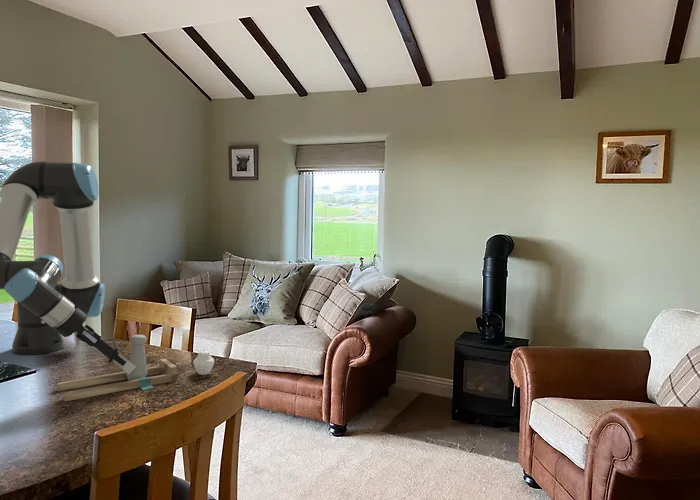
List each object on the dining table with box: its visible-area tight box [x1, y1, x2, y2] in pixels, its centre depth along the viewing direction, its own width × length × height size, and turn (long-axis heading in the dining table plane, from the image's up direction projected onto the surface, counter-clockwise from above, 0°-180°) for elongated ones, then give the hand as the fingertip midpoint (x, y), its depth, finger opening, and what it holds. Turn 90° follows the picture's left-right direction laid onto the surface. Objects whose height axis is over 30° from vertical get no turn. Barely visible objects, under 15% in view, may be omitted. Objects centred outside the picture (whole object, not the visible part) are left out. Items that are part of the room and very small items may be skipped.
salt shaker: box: [126, 334, 148, 381], centre depth 148 cm, size 6×6×13 cm
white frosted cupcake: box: [192, 350, 215, 376], centre depth 157 cm, size 6×6×7 cm
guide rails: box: [56, 358, 178, 402], centre depth 145 cm, size 16×29×4 cm, turn 129°
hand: (132, 369), depth 146 cm, fingers closed
